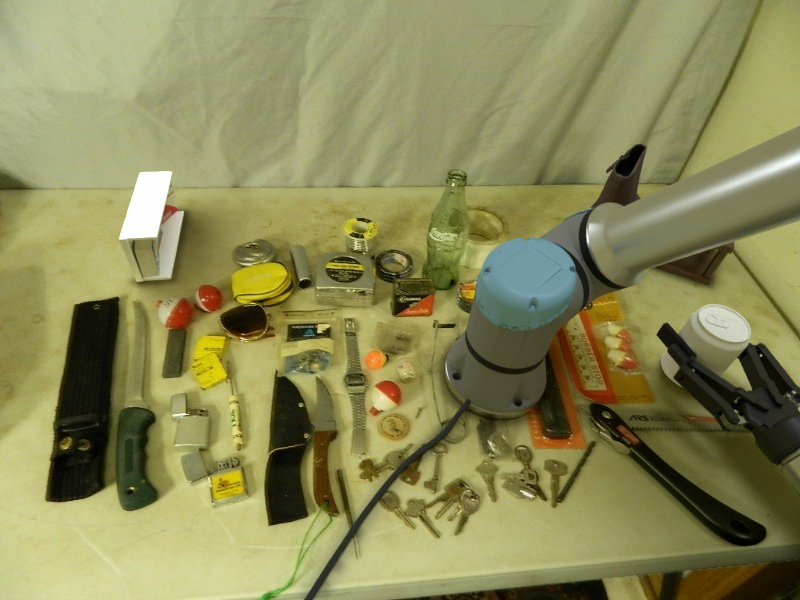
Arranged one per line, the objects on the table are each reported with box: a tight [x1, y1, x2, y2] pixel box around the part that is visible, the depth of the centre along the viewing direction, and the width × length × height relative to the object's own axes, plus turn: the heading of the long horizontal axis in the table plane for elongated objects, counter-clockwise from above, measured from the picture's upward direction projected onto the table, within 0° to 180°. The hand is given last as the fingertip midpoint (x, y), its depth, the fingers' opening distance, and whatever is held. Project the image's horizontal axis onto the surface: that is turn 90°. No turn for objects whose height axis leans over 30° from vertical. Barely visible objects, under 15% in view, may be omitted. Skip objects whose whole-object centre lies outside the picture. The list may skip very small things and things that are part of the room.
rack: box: [655, 241, 735, 286], centre depth 101 cm, size 12×13×9 cm
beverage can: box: [660, 303, 752, 388], centre depth 79 cm, size 8×8×12 cm
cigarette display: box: [118, 171, 185, 283], centre depth 93 cm, size 20×6×9 cm, turn 9°
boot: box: [590, 143, 648, 208], centre depth 101 cm, size 9×24×20 cm, turn 143°
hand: (684, 322), depth 82 cm, fingers closed on beverage can, 8 cm apart
